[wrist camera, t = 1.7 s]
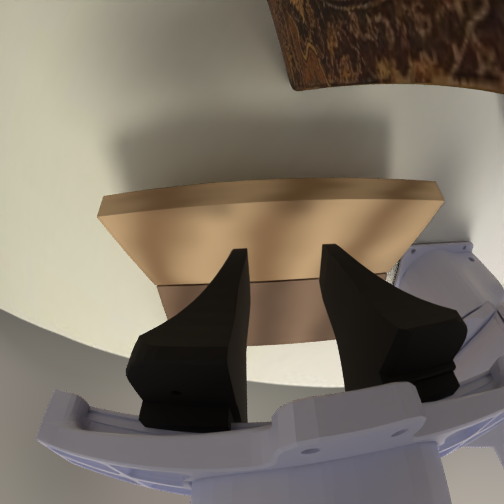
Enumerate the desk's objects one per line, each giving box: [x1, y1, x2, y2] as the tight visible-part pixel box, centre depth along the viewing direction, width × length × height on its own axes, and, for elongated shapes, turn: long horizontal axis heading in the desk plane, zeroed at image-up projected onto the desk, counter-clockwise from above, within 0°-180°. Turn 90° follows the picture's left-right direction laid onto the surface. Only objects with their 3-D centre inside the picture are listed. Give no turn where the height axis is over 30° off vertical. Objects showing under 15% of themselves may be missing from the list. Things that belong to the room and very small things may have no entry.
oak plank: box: [97, 178, 445, 285], centre depth 18 cm, size 20×10×2 cm
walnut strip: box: [157, 272, 387, 346], centre depth 25 cm, size 20×8×2 cm, turn 93°
